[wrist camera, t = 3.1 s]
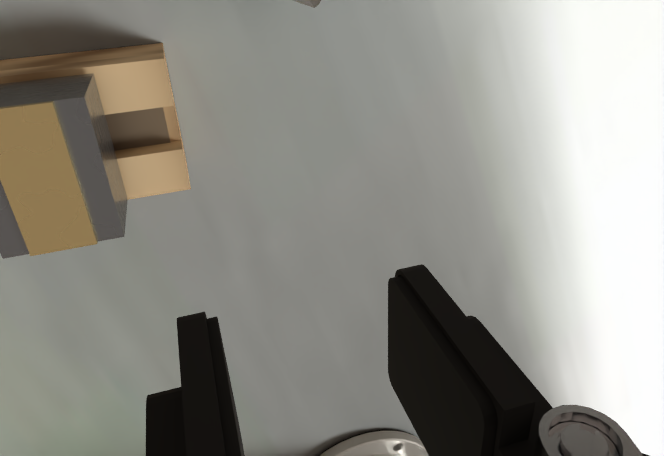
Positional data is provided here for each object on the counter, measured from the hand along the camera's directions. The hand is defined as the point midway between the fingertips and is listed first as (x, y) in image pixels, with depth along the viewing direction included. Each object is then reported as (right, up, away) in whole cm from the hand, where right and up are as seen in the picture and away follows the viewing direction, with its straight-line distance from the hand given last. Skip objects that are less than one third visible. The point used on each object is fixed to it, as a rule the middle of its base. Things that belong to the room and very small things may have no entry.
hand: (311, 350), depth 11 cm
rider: (-11, +6, +12) cm, 18 cm away
